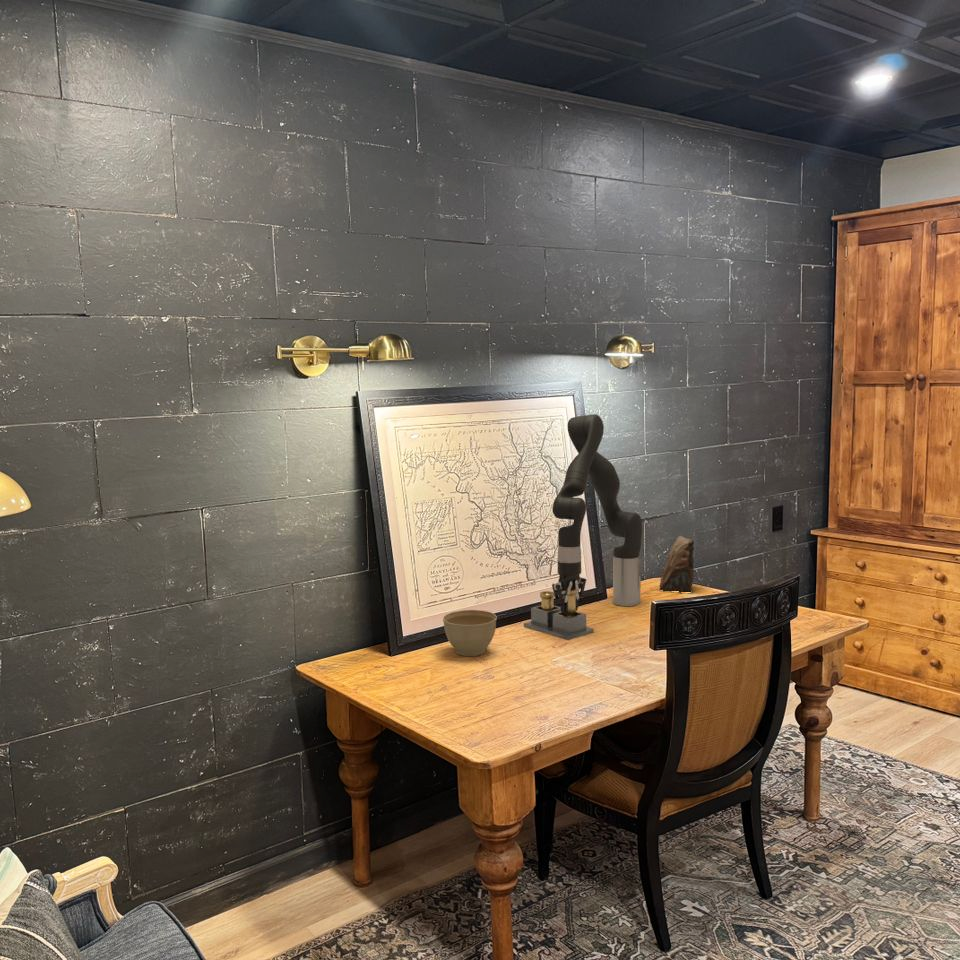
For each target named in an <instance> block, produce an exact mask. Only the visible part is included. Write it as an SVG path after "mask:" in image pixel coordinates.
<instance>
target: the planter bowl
mask: <svg viewBox="0 0 960 960" xmlns="http://www.w3.org/2000/svg"><path fill="white" fill-rule="evenodd" d="M497 618H498V617H497V615H496V614H495V613H493V612H491V611H487V610H481V609H463V610H462V609H461V610H457V611H451V612H449V613H446V614H445V615H443V617H442V622H443V627H444V633H445V635H446V637H447V640H448V641H449V643H450V645H451V647H453V649H454V653H455V654H457V655H459V656H465V657H476V656H480V655H481V656H482V655H484V654H485V653H486V652H487V651H488V646H490V644H491V643H492V640H493V638H494V636H495V634H496V633H495V632H496V627H497V620H498V619H497Z"/></svg>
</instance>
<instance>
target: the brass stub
mask: <svg viewBox="0 0 960 960" xmlns="http://www.w3.org/2000/svg"><path fill="white" fill-rule="evenodd" d="M562 591H563V592H566V591H564V590H562ZM576 594H577V590H575V589H574V590H570V594H569V596H568V600H567V602H568V613H566V614H564V613H563V616H567V617H573V616H576ZM564 596H565V595H564ZM564 596H563V598H564Z"/></svg>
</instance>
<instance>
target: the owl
mask: <svg viewBox="0 0 960 960" xmlns="http://www.w3.org/2000/svg"><path fill="white" fill-rule="evenodd" d="M694 544H695V540H694V539H693V538H686V537H684V536H682V535H681V534H680V535H678V537H677V538H676V540H675V542H674V544H673V545H672V546H671V548H670V550H669V551H668V555H667V558H666V561H665V564H664V567H663V570H662V573H661V577H660V583H659V590H663V591H662V592H665V591H679V592H691V591H692V587H693V582H694V557H693V556H694V555H693V553H694V549H695V548H694Z"/></svg>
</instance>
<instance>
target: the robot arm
mask: <svg viewBox="0 0 960 960" xmlns="http://www.w3.org/2000/svg"><path fill="white" fill-rule="evenodd" d="M604 428H605V427H604V422H603V419H602V418H601V416H600V415H598V414H587V415H579V416H574V417H571V418H570V419H569V420H568V422H567V433H568V436H569V438H570V441H571V443H572V444H573V446H574V448H575V450H576V451H577V453H578V454H577V455H576V456H575V457H574V458H573V460H572V461H571V462H570V463H569V465H568V467H567V469H566V472H565V476H564V477H565V478H564V480H563V481H564V482H563V485H562V487H561V488H560V490H559V492H558V494H557V495H556V497H555V499H554V501H553V503H552V509H551V510H552V514H553V516H554V517H555V518H556V519H559V520H572V521H573V522H572V524H571V525H566V526H561V527H560V528H559V529H558V532H557V533H558V536H557V537H558V541H557V543H558V545H557V574H558V577H559V578H558V581H557V582H556V583H552V584H551V588H552V590H553V591H552V592H554V596H555V597H554V599H555V601H559V602H560V607H561V612H562V613H564V614H566V613H568V602H567V600H568V596H569V594H570V590H574V589H575V590H577V594H576V611H577V612H578V609H579V599H580V597H581V598H582V597H583V596H584V592H585V588H586V587H585V586H586V583H587V578H585V577H581V576H580V575H581V574H582V549H581V547H582V546H581V542H582V541H581V539H582V537H581V536H582V535H581V532H582V527H583V522H584V519H585V515H586V512H587V503H586V501H585V500H584V499H583V498H581V497H580V496H582V495H583V494H584V493H585V490H586V486H587V481H588V477H589V479H590V482H591V484H592V487H593V489H594V490H595V493H596V495H597V498H598V501H599V503H600V505H601V509H602V511H603V514H604V517H605V520H606V524H607V525H606V526H608V527H607V528H608V529H609V532H610V533H611V534H612V535H613V536H615V537H618V538H619V537H620V538H624V542H623V544H622V545H619V546H615V547H614V548H613V550H612V551H613V552H612V555H613V556H612V557H613V558H612V562H613V563H612V565H613V566H612V571H613V572H612V573H613V574H612V588H613V589H612V604H614V605H615V606H620V607H622V606H623V607H633V606H637V605H639V604H640V603H641V598H642V597H641V588H642V587H641V586H642V584H641V582H642V579H641V576H640V551H641V548H642V536H643V535H642V534H643V520H642V516H641V515H640V514H639V513H636V512H631V511H623V510H622V509H621V508H620V506H619V503H618V495H619V492H620V486H621V481H620V478H619V475H618V473H617V470H616V467H614V465H613V464H612V462H611V461H610V460H608V459H607V458H606V457H605V456H603V455H602V454H600V452H598V451H599V450H598V449H599V447H600V444H601V442H602V440H603V436H604V431H605V429H604ZM562 590H564V591H566V592H563V591H562ZM564 595H565V596H564ZM563 596H564V598H563Z"/></svg>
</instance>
